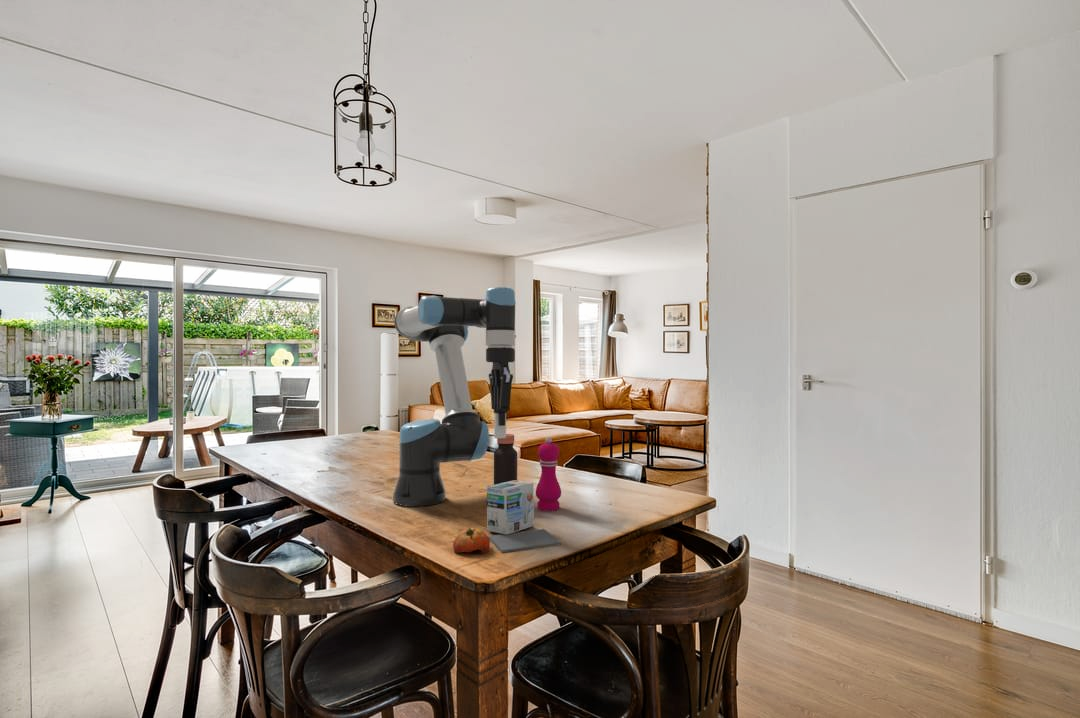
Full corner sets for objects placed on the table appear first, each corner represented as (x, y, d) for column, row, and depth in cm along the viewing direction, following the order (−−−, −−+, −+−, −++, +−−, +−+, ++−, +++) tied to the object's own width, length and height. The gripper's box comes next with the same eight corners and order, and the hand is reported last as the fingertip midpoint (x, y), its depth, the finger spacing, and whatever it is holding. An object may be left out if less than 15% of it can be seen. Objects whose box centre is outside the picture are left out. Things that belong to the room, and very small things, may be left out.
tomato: (442, 542, 117) (464, 514, 119) (462, 556, 121) (482, 530, 123) (459, 558, 111) (482, 529, 113) (479, 573, 114) (501, 545, 116)
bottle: (495, 501, 157) (495, 433, 157) (518, 501, 156) (518, 433, 156) (492, 507, 150) (492, 436, 150) (516, 508, 150) (516, 436, 150)
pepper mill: (563, 511, 146) (563, 438, 147) (537, 512, 145) (538, 439, 145) (558, 504, 154) (558, 435, 154) (533, 505, 152) (534, 435, 152)
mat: (488, 538, 124) (488, 536, 124) (543, 531, 129) (543, 529, 129) (501, 552, 115) (501, 550, 115) (560, 544, 120) (560, 542, 120)
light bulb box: (506, 535, 124) (506, 488, 125) (485, 531, 128) (485, 486, 129) (535, 525, 133) (534, 482, 133) (514, 522, 137) (513, 479, 137)
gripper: (522, 346, 134) (522, 440, 134) (506, 348, 146) (505, 434, 146) (494, 346, 131) (493, 442, 131) (479, 347, 143) (479, 435, 143)
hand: (500, 437), depth 139 cm, fingers closed
